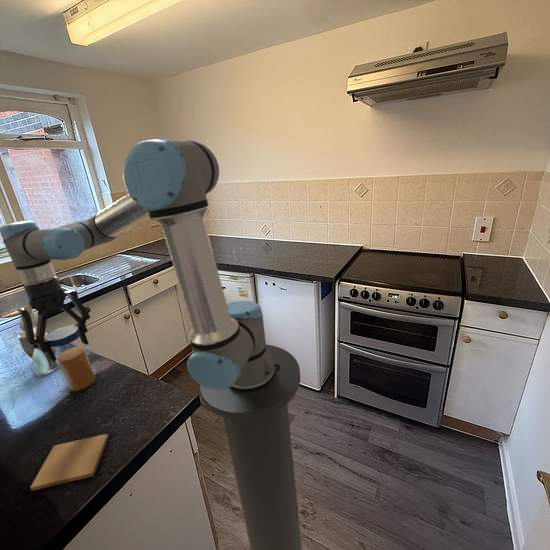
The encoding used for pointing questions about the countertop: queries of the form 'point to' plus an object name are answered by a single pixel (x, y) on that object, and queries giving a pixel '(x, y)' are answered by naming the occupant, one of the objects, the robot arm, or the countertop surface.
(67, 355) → the jar
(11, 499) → the countertop surface
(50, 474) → the mat
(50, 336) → the lid
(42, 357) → the beer glass
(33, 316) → the plastic bottle
